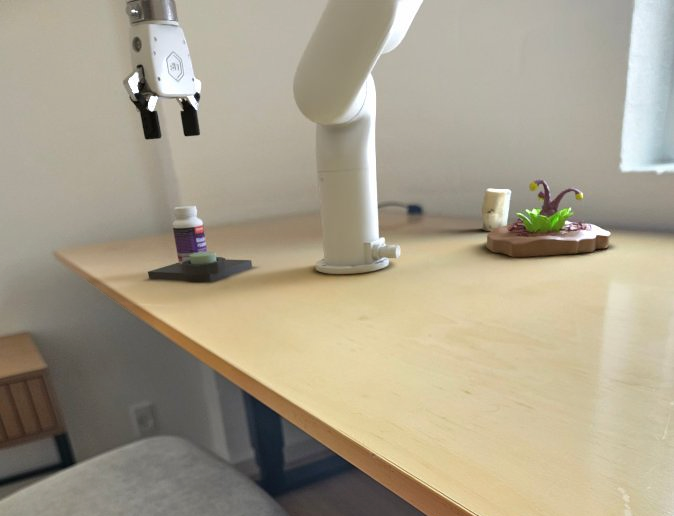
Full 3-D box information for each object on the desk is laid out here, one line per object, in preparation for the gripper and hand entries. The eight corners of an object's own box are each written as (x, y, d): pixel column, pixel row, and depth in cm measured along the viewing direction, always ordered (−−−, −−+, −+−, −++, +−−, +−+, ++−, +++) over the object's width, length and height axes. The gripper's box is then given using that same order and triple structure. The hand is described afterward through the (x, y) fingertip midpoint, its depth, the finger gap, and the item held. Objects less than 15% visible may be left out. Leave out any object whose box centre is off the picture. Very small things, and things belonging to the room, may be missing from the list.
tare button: (222, 260, 113) (220, 251, 112) (205, 266, 109) (204, 256, 109) (202, 260, 115) (200, 251, 114) (185, 265, 111) (184, 256, 111)
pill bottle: (205, 264, 117) (196, 207, 113) (176, 267, 118) (165, 209, 113) (211, 259, 122) (202, 204, 118) (183, 261, 123) (173, 206, 118)
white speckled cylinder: (509, 227, 139) (510, 186, 136) (510, 231, 135) (511, 189, 131) (481, 228, 140) (482, 188, 137) (481, 232, 136) (482, 191, 132)
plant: (473, 242, 125) (474, 179, 120) (571, 233, 127) (576, 170, 122) (508, 261, 108) (511, 188, 103) (623, 250, 109) (631, 177, 104)
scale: (255, 267, 119) (253, 250, 117) (209, 284, 109) (206, 265, 107) (193, 265, 126) (190, 249, 124) (144, 281, 115) (141, 263, 114)
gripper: (131, 8, 95) (154, 138, 102) (206, 18, 108) (222, 133, 116) (94, 16, 98) (119, 141, 106) (172, 25, 112) (189, 136, 119)
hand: (173, 137), depth 111 cm, fingers open, 9 cm apart
